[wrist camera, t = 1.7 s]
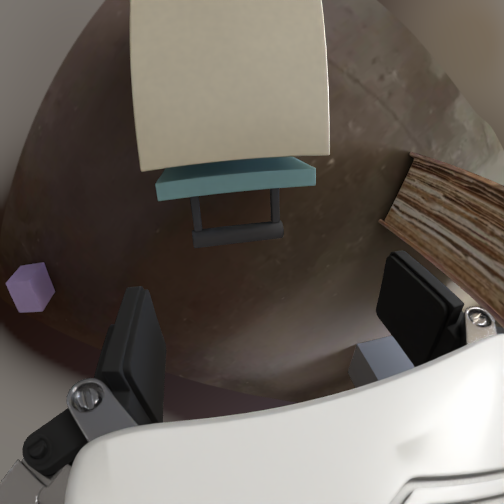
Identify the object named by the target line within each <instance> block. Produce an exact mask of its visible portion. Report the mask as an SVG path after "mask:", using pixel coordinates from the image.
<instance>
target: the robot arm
mask: <svg viewBox="0 0 504 504" xmlns="http://www.w3.org/2000/svg"><path fill="white" fill-rule="evenodd" d="M463 306H464V303H463V302H462V301H461V300H460V299H459V298H458V297H457V296H456V295H455V294H454V293H452V292H451V291H450V290H449V289H448V288H447V287H446V286H445V285H444V284H443V283H441V282H440V281H439V280H438V279H437V278H436V277H435V276H434V275H432V274H431V273H430V272H429V271H428V270H427V269H426V268H424V267H423V266H422V265H421V264H420V263H418V262H417V261H416V260H415V259H414V258H413V257H411V256H410V255H409V254H408V253H406V252H405V251H396V252H391V253H390V255H389V256H388V257H387V259H386V264H385V269H384V274H383V279H382V284H381V289H380V294H379V298H378V303H377V307H376V313H377V316H378V317H379V319H380V320H381V321H382V323H383V324H384V325H385V327H386V328H387V329H388V331H389V332H390V333H391V335H392V336H393V337H394V339H395V340H396V341H397V343H398V344H399V346H400V347H401V348H402V350H403V351H404V352H405V354H406V355H407V357H408V358H409V359H410V361H411V362H412V364H413V365H414V366H415V367H414V368H412V369H409V370H407V371H404V372H401V373H399V374H396V375H393V376H390V377H388V378H385V379H382V380H379V381H376V382H373V383H370V384H367V385H364V386H361V387H357V388H354V389H351V390H347V391H344V392H340V393H337V394H333V395H329V396H326V397H322V398H318V399H314V400H310V401H305V402H301V403H297V404H292V405H287V406H283V407H278V408H272V409H267V410H262V411H255V412H250V413H243V414H236V415H229V416H221V417H213V418H205V419H196V420H184V421H174V422H165V423H163V398H164V379H165V364H166V344H165V341H164V338H163V335H162V332H161V329H160V326H159V323H158V320H157V316H156V313H155V310H154V307H153V303H152V300H151V297H150V293H149V291H148V290H144V289H143V287H142V286H138V287H129V288H127V289H126V291H125V294H124V297H123V300H122V303H121V306H120V309H119V312H118V315H117V318H116V321H115V324H112V325H110V326H109V328H108V332H107V335H106V338H105V341H104V344H103V348H102V351H101V354H100V358H99V362H98V365H97V368H96V372H95V376H94V378H87V379H83V380H81V381H79V382H77V383H76V384H75V385H73V386H72V388H71V389H70V390H69V392H68V395H67V405H68V409H66V410H65V411H64V412H62V413H60V414H59V415H58V416H56V417H55V418H53V419H52V420H51V421H49V422H48V423H46V424H45V425H43V426H42V427H41V428H40V429H38V430H36V431H35V432H33V433H32V434H31V435H30V436H29V437H27V439H26V441H25V442H24V445H23V457H24V458H23V460H22V461H20V460H17V461H16V462H15V464H14V465H13V466H12V468H11V469H10V470H9V471H8V473H7V474H6V475H5V477H4V478H3V480H2V481H1V482H0V504H504V328H501V327H497V326H495V321H494V318H493V316H492V315H491V314H490V313H489V312H488V311H487V310H485V309H483V308H481V307H477V306H472V307H469V308H467V309H466V310H465V312H464V313H463V312H462V308H463Z"/></svg>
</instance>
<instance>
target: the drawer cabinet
mask: <svg viewBox="0 0 504 504" xmlns="http://www.w3.org/2000/svg"><path fill="white" fill-rule="evenodd" d="M130 65H131V84H132V98H133V110H134V120H135V130H136V139H137V147H138V155H139V162H140V169H141V172H145V171H151V170H158V169H164V168H171V167H178V166H186V165H194V164H202V163H211V162H220V161H231V160H242V159H255V158H270V157H289V156H318V155H329V154H330V132H329V90H328V69H327V53H326V40H325V29H324V18H323V9H322V0H130Z"/></svg>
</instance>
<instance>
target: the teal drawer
mask: <svg viewBox="0 0 504 504" xmlns="http://www.w3.org/2000/svg"><path fill="white" fill-rule="evenodd" d="M315 185H316V168H314V167H312V166H310V165H308V164H306V163H304V162H302V161H300V160H298V159H296V158H294V157H292V156H289V157H270V158H255V159H242V160H231V161H220V162H211V163H202V164H194V165H186V166H178V167H171V168H166V169H165V170H164V172H163V173H162V175H161V176H160V178H159V179H158V181H157V182H156V184H155V186H156V192H157V199H158V201H164V200H171V199H179V198H186V197H190V201H191V209H192V216H193V224H194V230H193V231H192V237H193V245H194V248H201V247H209V246H217V245H226V244H234V243H243V242H251V241H260V240H268V239H277V238H283V235H284V229H283V224H282V221H280V209H279V188H285V187H299V186H315ZM260 189H270V206H271V221H270V222H261V223H251V224H242V225H233V226H225V227H216V228H208V229H202V222H201V214H200V205H199V197H198V196H202V195H211V194H220V193H229V192H239V191H249V190H260Z"/></svg>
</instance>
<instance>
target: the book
mask: <svg viewBox="0 0 504 504" xmlns="http://www.w3.org/2000/svg"><path fill="white" fill-rule="evenodd" d="M409 155H410V156H411V157H412V158H414V161H413V163H412V165H411V167H410V169H409V172H408V174H407V176H406V178H405V180H404V182H403V184H402V187H401V189H400V191H399V193H398V195H397V197H396V199H395V201H394V203H393V205H392V207H391V209H390V211H389V213H388V215H387V217H386V218H385V220H382V219H380V220H379V223H380V224H382V225H383V226H384V227H386V228H387V229H389V230H390V231H391V232H393V233H394V234H395V235H397V236H398V237H399V238H401V239H402V240H403V241H405V242H406V243H407V244H408V245H410V246H411V247H412V248H414V249H415V250H416V251H417V252H419V253H420V254H421V255H423V256H424V257H425V258H426V259H428V260H429V261H430V262H431V263H432V264H434V265H435V266H436V267H437V268H438V269H440V270H441V271H442V272H443V273H444V274H446V275H447V276H448V277H449V278H450V279H452V280H453V281H454V282H455V283H456V284H457V285H458V286H460V287H461V288H462V289H463V290H464V291H465V292H466V293H467V294H469V295H470V296H471V297H472V298H473V299H474V300H475V301H476V302H477V303H478V304H479V305H481V306H482V307H483V308H484V309H485V310H487V311H488V312H489V313H490V314H491V315H492V316H493V318H494V319H495V320H496V321H497V322H498V323H499V324H500V325H501V326H502V327H503V328H504V186H502V185H500V184H498V183H496V182H493V181H491V180H489V179H486V178H484V177H481V176H479V175H477V174H474V173H471V172H469V171H466V170H464V169H461V168H458V167H456V166H453V165H450V164H447V163H444V162H441V161H438V160H435V159H432V158H429V157H426V156H423V155H420V154H417V153H413V152H410V154H409Z"/></svg>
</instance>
